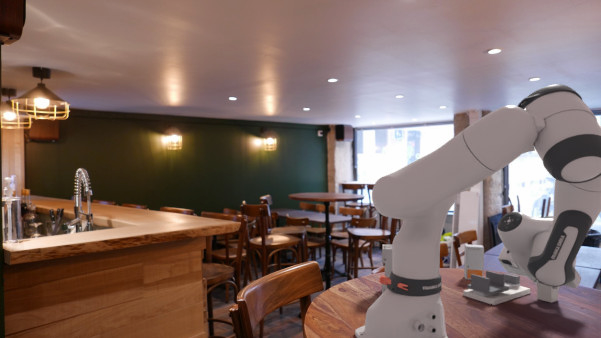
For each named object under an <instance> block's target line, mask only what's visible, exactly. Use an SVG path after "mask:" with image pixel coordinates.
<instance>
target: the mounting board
mask: <svg viewBox="0 0 601 338" xmlns="http://www.w3.org/2000/svg"><path fill="white" fill-rule="evenodd" d="M462 292H463V294H462V296H464V297H467V298H470V299H473V300H476V301H480V302H482V303H485V304H489V305H491V304H492V305H491V306H497V305H500V304H501V303H505V302H508V301H511V300H514V299H517V298H520V297H523V296H526V295H529V294H531V288H529V287H526V286H522V285H520V286H518V287H514V288H511V289H509V290H508V291H504V292H501V293H498V294H495V295H488V296H485V297H482V296H479V295H476V294H473V290H472V289H468V288H467V289H464V290H462Z"/></svg>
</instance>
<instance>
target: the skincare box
mask: <svg viewBox="0 0 601 338" xmlns="http://www.w3.org/2000/svg"><path fill="white" fill-rule="evenodd" d="M463 257H464V258H463V259H464V263H463V264H464V267H463V270H464V271H463V272H464V273H463V277H464V279H465V280H470V281H471V274H474V275H478V276H482V277H485V276H484V269H485V267H484V266H485V260H484V259H485V247H484V245H482V244H467V243H465V244H464V256H463Z"/></svg>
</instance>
